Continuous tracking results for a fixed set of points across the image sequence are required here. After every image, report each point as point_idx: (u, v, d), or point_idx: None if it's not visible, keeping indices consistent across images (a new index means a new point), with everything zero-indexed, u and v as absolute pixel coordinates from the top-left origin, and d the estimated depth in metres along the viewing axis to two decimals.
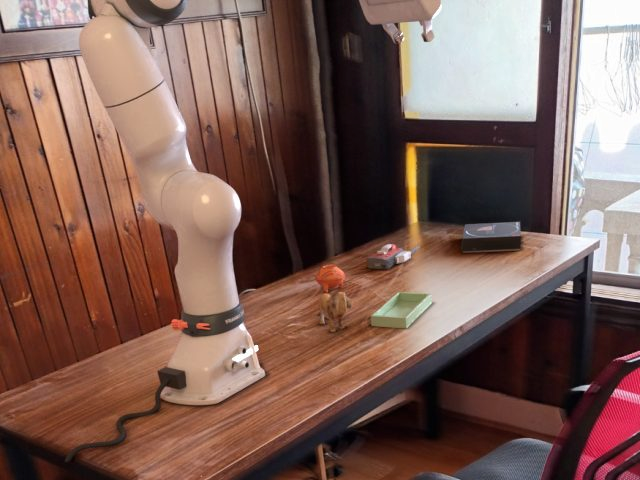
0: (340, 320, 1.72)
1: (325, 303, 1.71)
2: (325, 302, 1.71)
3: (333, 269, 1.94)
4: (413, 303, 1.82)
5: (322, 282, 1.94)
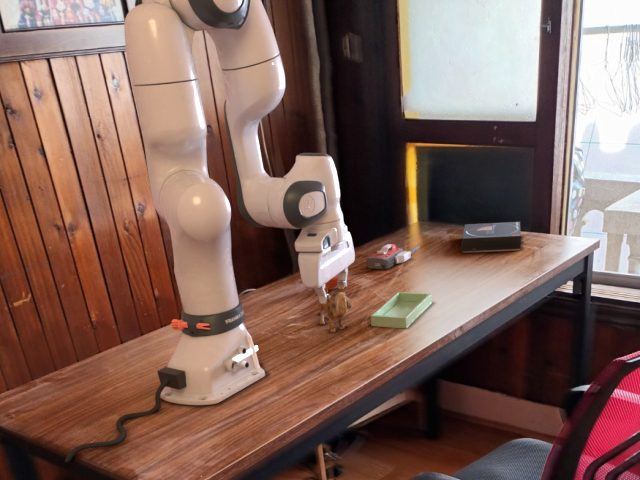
0: (340, 320, 1.72)
1: (325, 303, 1.71)
2: None
3: None
4: (413, 303, 1.82)
5: None
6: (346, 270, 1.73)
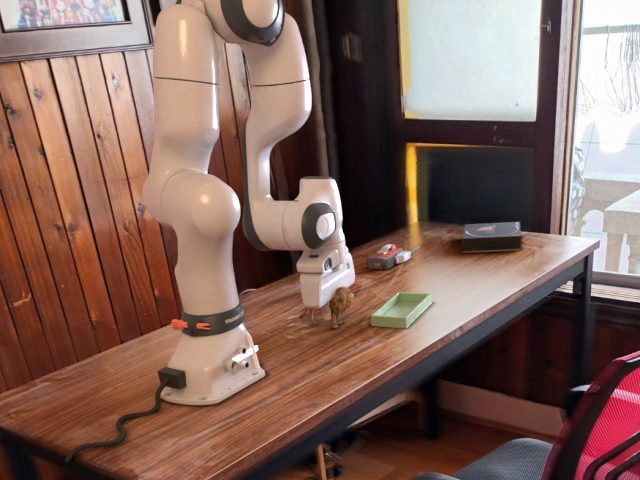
0: (338, 315, 1.74)
1: None
2: None
3: None
4: (413, 303, 1.82)
5: None
6: None
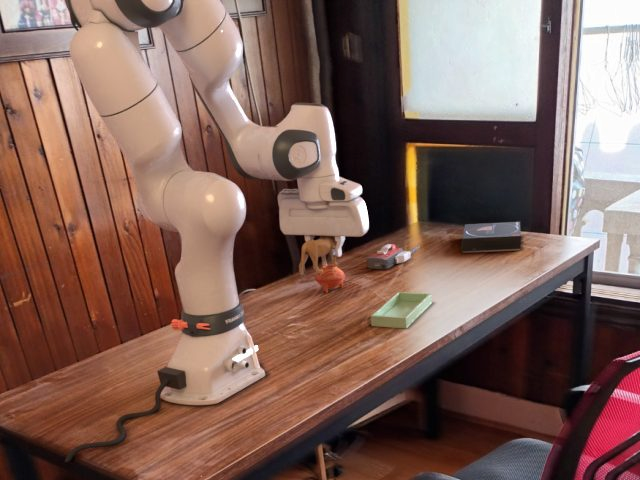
0: None
1: (325, 241, 1.62)
2: (324, 241, 1.62)
3: (333, 269, 1.94)
4: (413, 303, 1.82)
5: (322, 282, 1.94)
6: None
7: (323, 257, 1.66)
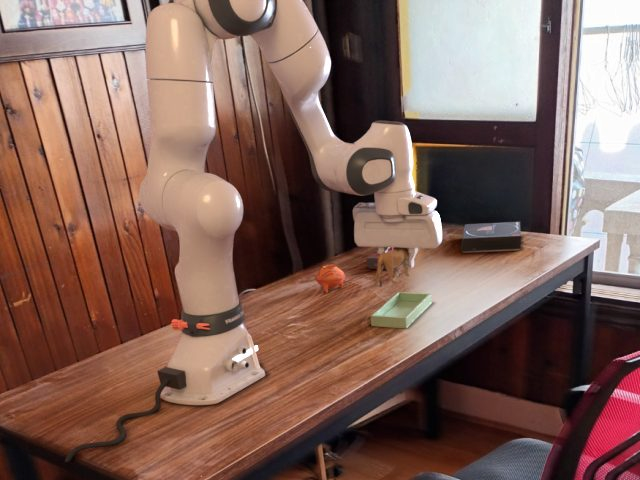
0: None
1: (399, 253, 1.68)
2: (398, 252, 1.68)
3: (333, 269, 1.94)
4: (413, 303, 1.82)
5: (322, 282, 1.94)
6: None
7: (396, 268, 1.72)
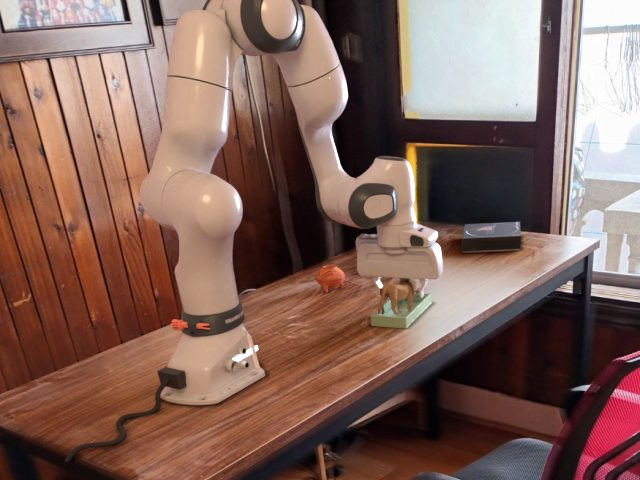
0: None
1: (404, 287, 1.73)
2: (403, 286, 1.73)
3: (333, 269, 1.94)
4: (413, 303, 1.82)
5: (322, 282, 1.94)
6: None
7: (399, 303, 1.76)
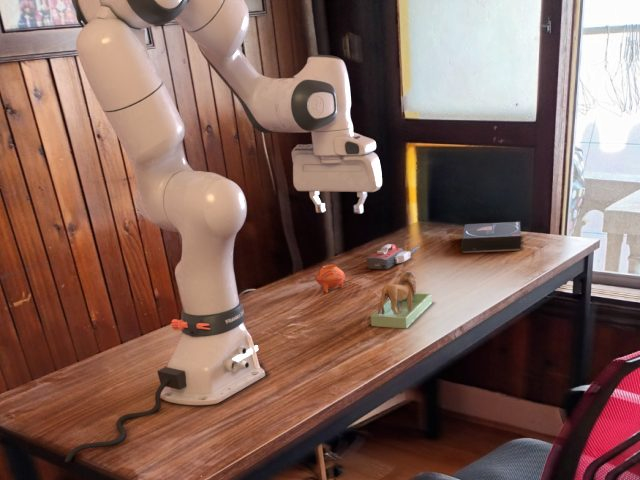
0: None
1: (404, 287, 1.73)
2: (403, 286, 1.73)
3: (333, 269, 1.94)
4: (413, 303, 1.82)
5: (322, 282, 1.94)
6: None
7: (399, 303, 1.76)
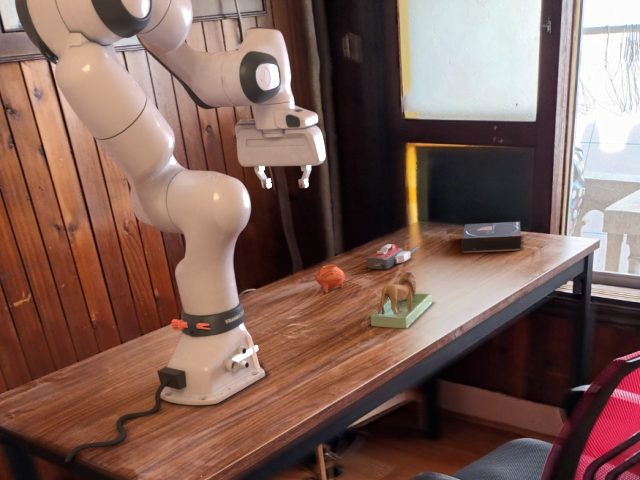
0: None
1: (404, 287, 1.73)
2: (403, 286, 1.73)
3: (333, 269, 1.94)
4: (413, 303, 1.82)
5: (322, 282, 1.94)
6: None
7: (399, 303, 1.76)
